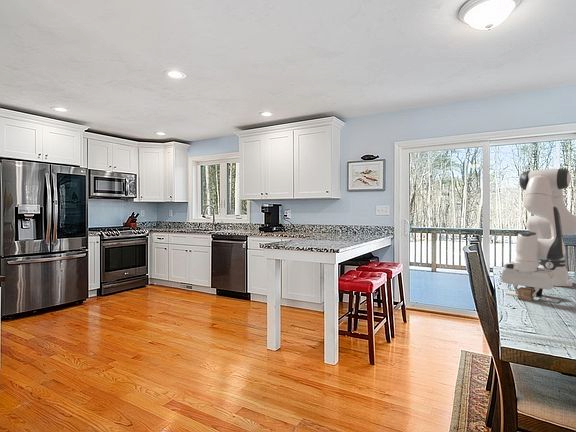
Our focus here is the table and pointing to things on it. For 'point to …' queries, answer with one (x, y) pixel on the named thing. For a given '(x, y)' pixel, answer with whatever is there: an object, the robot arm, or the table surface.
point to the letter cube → (525, 293)
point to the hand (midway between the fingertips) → (525, 295)
